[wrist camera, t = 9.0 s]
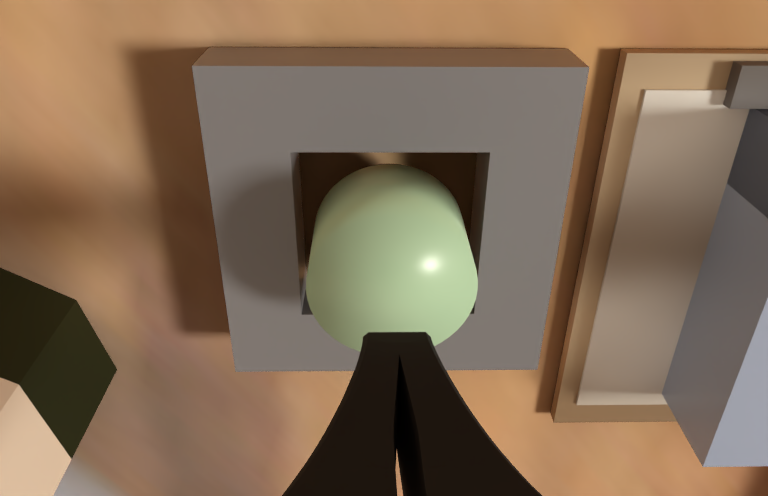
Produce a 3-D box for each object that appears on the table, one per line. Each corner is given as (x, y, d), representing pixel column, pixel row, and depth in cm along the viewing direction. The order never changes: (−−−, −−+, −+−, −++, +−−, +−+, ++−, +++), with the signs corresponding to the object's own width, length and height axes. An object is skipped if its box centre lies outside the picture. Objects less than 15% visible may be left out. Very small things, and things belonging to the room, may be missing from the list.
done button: (457, 293, 20) (471, 355, 17) (317, 294, 20) (309, 356, 17) (468, 163, 18) (485, 212, 15) (311, 163, 18) (301, 213, 15)
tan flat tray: (826, 410, 25) (842, 429, 24) (550, 412, 25) (556, 432, 24) (1003, 50, 18) (1036, 59, 17) (621, 48, 18) (633, 57, 17)
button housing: (524, 332, 23) (537, 369, 21) (245, 333, 23) (235, 371, 21) (567, 48, 18) (589, 67, 16) (209, 47, 18) (191, 65, 16)
